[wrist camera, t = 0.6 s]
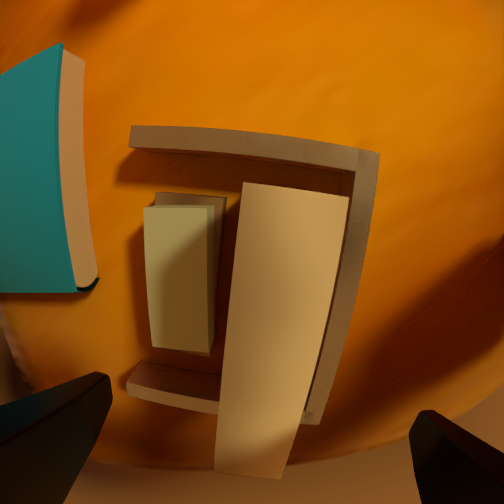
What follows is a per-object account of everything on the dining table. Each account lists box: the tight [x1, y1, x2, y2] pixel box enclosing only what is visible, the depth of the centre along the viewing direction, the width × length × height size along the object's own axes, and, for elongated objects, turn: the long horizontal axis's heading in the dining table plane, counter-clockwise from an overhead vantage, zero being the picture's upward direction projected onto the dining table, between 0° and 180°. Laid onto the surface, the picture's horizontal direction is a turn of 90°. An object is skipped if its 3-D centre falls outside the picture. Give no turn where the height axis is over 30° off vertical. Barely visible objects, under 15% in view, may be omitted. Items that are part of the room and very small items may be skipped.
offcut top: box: [144, 205, 214, 353], centre depth 17 cm, size 3×8×2 cm, turn 178°
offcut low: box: [151, 192, 227, 357], centre depth 19 cm, size 4×10×2 cm, turn 174°
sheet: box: [213, 182, 349, 479], centre depth 15 cm, size 3×12×10 cm, turn 173°
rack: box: [126, 126, 380, 425], centre depth 18 cm, size 13×17×3 cm
